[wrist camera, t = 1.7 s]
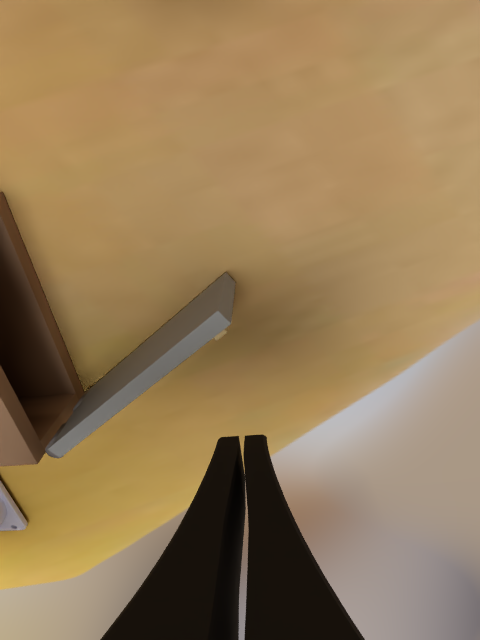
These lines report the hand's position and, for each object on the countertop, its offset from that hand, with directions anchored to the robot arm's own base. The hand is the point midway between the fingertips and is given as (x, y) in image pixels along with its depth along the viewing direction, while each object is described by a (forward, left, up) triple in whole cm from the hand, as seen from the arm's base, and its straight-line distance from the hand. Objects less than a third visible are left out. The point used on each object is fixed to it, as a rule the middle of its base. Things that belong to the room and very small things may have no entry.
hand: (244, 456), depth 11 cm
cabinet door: (-6, 0, -9) cm, 11 cm away
